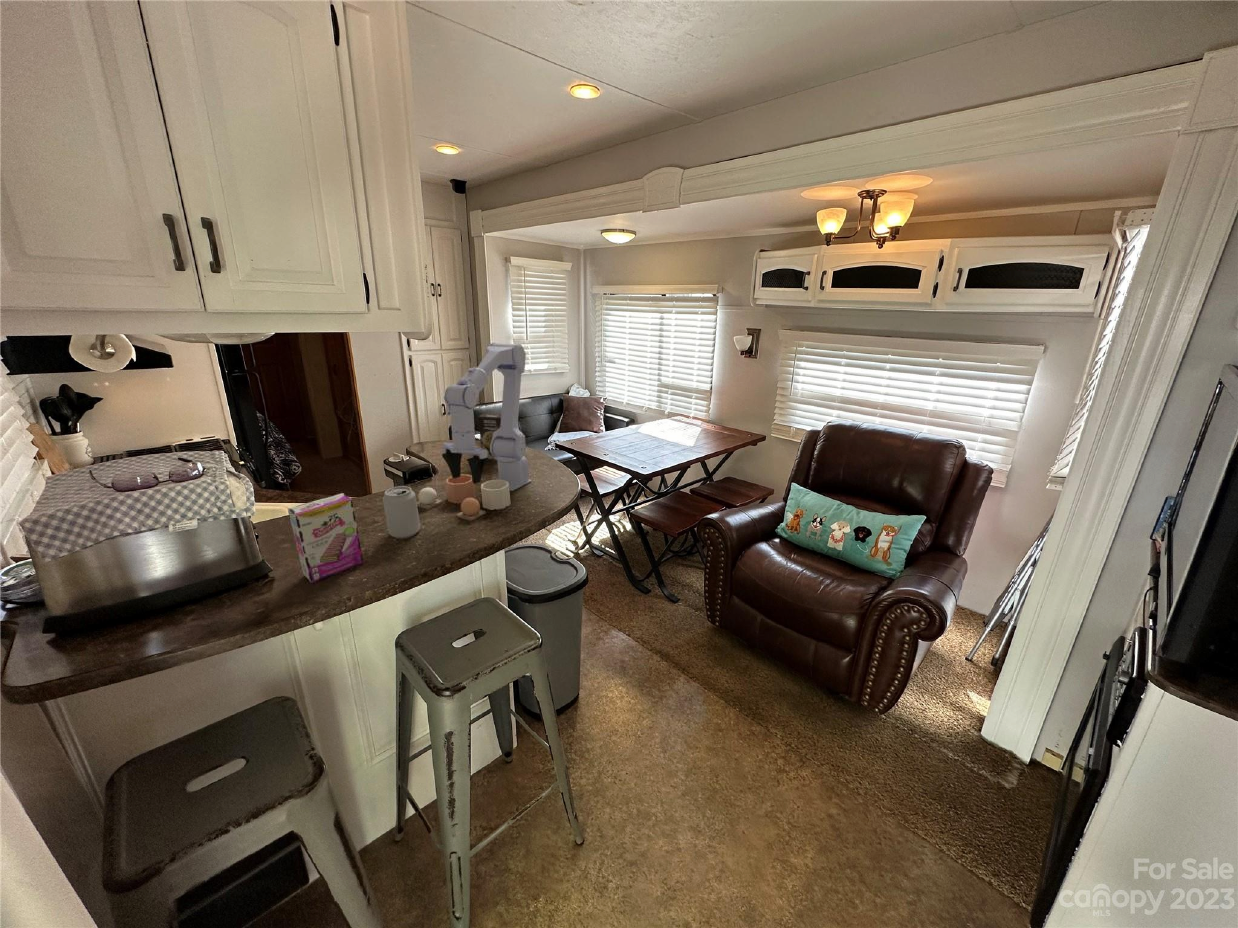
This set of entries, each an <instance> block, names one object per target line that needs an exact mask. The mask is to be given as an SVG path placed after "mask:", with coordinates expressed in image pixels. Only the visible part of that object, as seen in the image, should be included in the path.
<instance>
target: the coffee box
mask: <svg viewBox="0 0 1238 928" xmlns="http://www.w3.org/2000/svg"><path fill="white" fill-rule="evenodd" d="M477 419H478V427H479V439H480V448H482V449H484V450H487V456H488V460H495V456H493V455H492V454H491V451H490V444H491V441H492V438H493V433H494V432H495V431H496V430H498V429H499V428H500V426H501V413H496V412H495V413H493V412H492V413H491V412H485V413H482V414H480V415H479V416H478V418H477ZM503 438H510V437H505V436H504V437H503Z"/></svg>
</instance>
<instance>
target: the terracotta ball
mask: <svg viewBox="0 0 1238 928" xmlns="http://www.w3.org/2000/svg"><path fill="white" fill-rule="evenodd" d="M480 507H481V506H480V503H479V501H478V499H476V498H475V499H474V498H467V499H465V500H464V501H463V502H462V503H460V510H461V512H463V513H464V514H465V515H467V516H470V517H471V516H473V515H475V514H477V513H478V511H479V510H481V509H480Z"/></svg>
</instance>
